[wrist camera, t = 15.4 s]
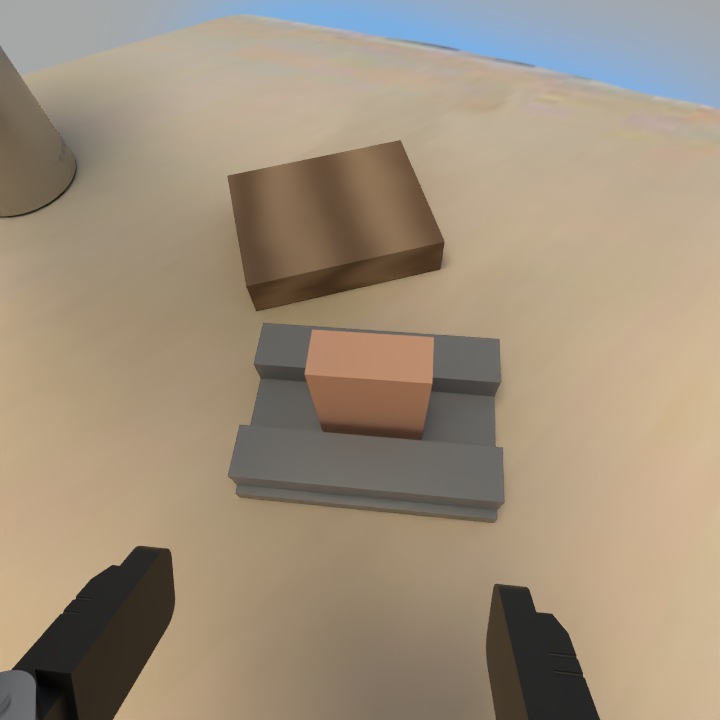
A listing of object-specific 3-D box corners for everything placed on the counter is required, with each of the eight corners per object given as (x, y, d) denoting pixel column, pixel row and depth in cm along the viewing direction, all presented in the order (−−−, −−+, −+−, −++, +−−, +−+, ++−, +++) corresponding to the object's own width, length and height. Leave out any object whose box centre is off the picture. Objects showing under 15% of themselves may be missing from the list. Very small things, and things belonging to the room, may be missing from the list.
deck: (256, 311, 36) (246, 286, 33) (237, 204, 41) (227, 175, 39) (440, 269, 37) (444, 241, 35) (399, 170, 42) (400, 140, 40)
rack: (239, 497, 30) (225, 484, 27) (273, 339, 35) (264, 316, 32) (493, 522, 28) (504, 512, 26) (490, 355, 34) (499, 332, 31)
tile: (322, 432, 30) (304, 374, 23) (328, 395, 32) (312, 329, 25) (421, 440, 30) (432, 383, 23) (422, 402, 31) (433, 337, 24)
